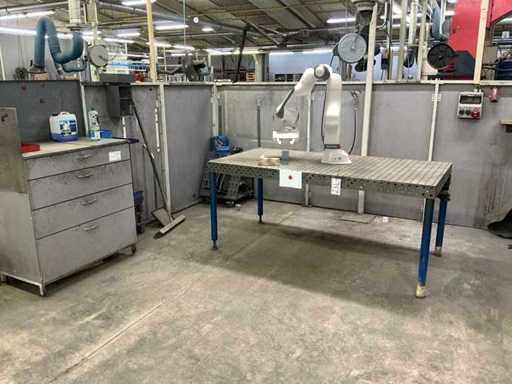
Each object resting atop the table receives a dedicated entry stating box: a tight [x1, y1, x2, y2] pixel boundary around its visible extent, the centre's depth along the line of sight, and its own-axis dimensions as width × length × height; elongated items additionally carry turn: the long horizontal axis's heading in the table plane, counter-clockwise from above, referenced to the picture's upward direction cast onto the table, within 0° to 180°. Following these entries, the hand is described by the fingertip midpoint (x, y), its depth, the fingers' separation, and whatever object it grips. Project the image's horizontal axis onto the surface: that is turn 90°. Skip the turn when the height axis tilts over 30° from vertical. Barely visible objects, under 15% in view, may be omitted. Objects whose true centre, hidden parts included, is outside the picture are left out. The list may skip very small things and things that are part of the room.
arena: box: [259, 155, 281, 167], centre depth 289 cm, size 14×14×5 cm
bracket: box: [281, 150, 290, 166], centre depth 290 cm, size 5×8×9 cm, turn 175°
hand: (285, 144), depth 300 cm, fingers open, 8 cm apart
